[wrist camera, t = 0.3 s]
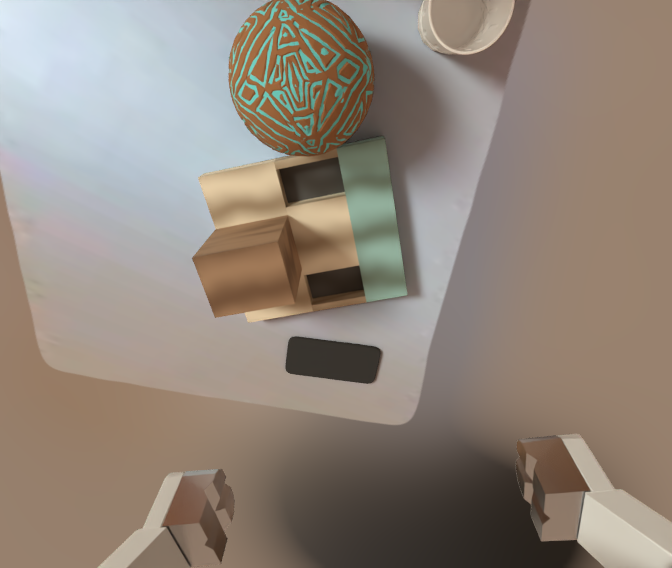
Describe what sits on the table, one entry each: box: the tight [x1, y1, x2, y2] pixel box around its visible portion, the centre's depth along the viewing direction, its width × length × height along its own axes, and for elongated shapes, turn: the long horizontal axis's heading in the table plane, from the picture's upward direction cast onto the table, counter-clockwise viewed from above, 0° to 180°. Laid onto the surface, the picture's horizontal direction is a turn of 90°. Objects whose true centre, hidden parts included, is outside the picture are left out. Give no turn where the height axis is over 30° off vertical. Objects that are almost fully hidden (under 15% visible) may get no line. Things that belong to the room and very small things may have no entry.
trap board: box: [198, 136, 407, 323], centre depth 58 cm, size 22×24×2 cm
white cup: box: [418, 0, 515, 55], centre depth 43 cm, size 8×8×10 cm
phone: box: [286, 337, 380, 384], centre depth 69 cm, size 7×1×15 cm
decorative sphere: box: [229, 0, 374, 157], centre depth 44 cm, size 15×15×15 cm
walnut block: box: [192, 215, 302, 318], centre depth 53 cm, size 8×10×10 cm
